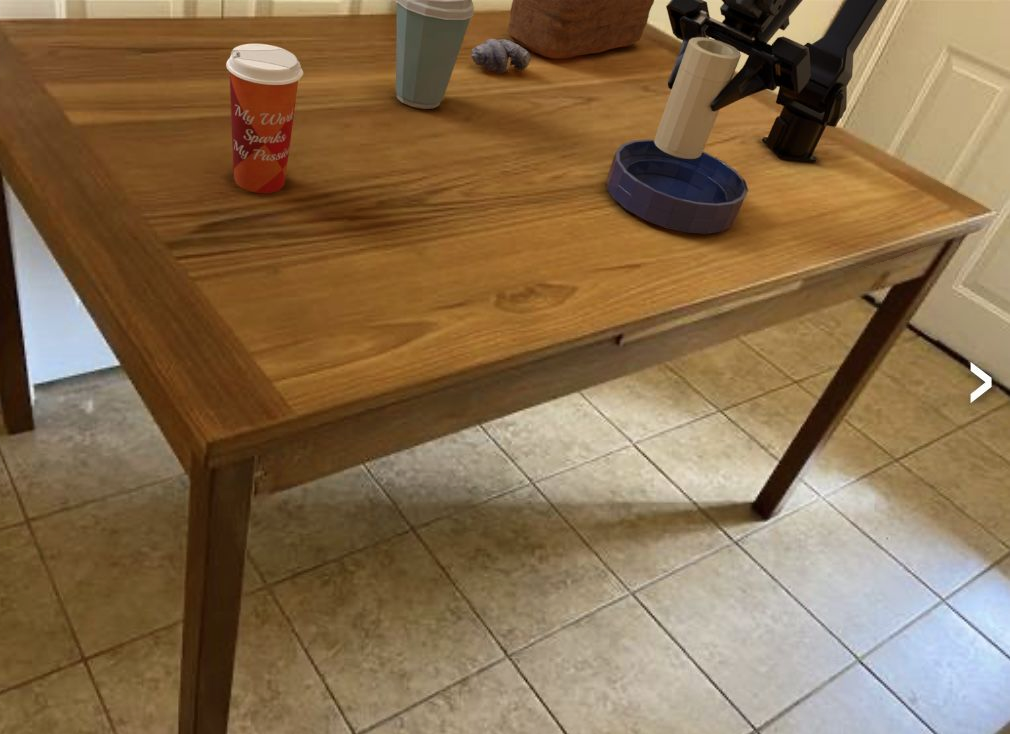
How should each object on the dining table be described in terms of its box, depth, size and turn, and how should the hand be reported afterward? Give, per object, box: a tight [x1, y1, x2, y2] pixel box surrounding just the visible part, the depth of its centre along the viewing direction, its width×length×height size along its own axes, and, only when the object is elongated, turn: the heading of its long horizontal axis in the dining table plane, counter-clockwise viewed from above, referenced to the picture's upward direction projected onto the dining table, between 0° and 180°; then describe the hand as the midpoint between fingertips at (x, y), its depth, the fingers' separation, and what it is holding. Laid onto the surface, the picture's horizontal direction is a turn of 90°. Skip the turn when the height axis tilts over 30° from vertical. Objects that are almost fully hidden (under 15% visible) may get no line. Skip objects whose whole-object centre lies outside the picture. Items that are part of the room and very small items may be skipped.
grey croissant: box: [470, 38, 532, 75], centre depth 136 cm, size 5×5×10 cm
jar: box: [653, 37, 742, 159], centre depth 106 cm, size 6×6×12 cm
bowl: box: [606, 138, 749, 235], centre depth 112 cm, size 17×17×4 cm
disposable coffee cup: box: [394, 0, 475, 110], centre depth 119 cm, size 11×11×15 cm
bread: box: [506, 0, 655, 60], centre depth 150 cm, size 14×28×12 cm, turn 135°
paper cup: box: [225, 43, 304, 194], centre depth 94 cm, size 8×8×14 cm
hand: (690, 97), depth 105 cm, fingers closed on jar, 6 cm apart
